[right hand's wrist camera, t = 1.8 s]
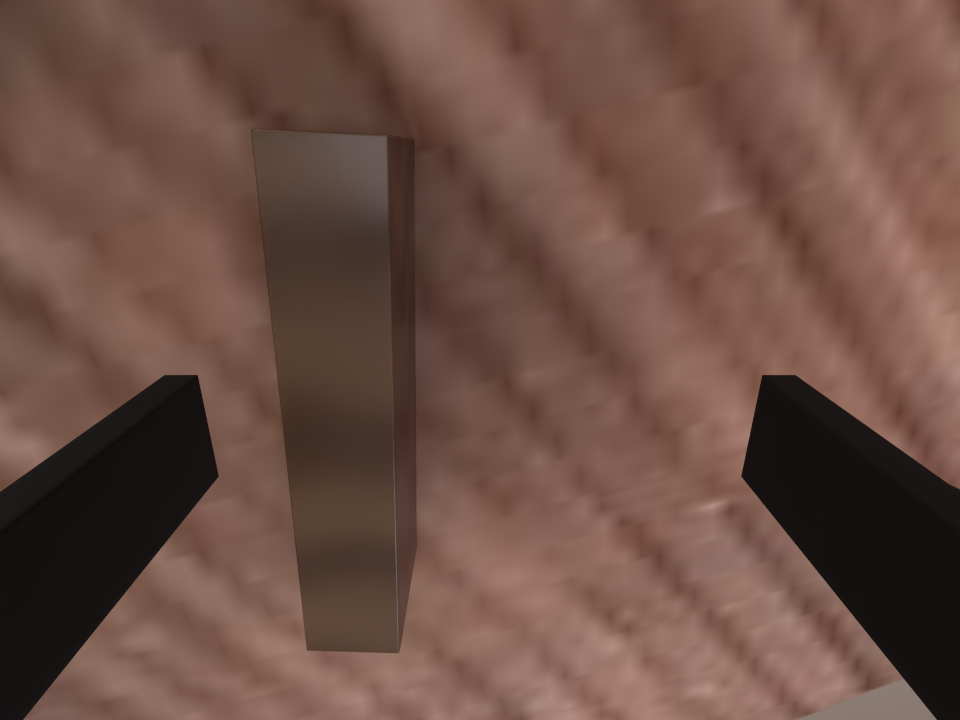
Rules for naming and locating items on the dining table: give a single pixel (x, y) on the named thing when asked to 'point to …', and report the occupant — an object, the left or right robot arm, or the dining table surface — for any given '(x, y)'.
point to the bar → (345, 372)
